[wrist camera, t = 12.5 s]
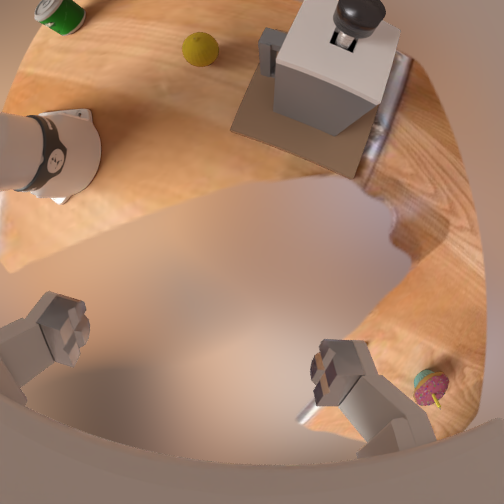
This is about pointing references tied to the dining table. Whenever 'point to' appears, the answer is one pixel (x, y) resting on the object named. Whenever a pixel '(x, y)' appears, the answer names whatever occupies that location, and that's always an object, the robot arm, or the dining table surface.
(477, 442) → the robot arm
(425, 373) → the cupcake
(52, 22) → the soda can
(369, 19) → the plunger
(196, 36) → the lemon
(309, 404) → the dining table surface
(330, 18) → the press
